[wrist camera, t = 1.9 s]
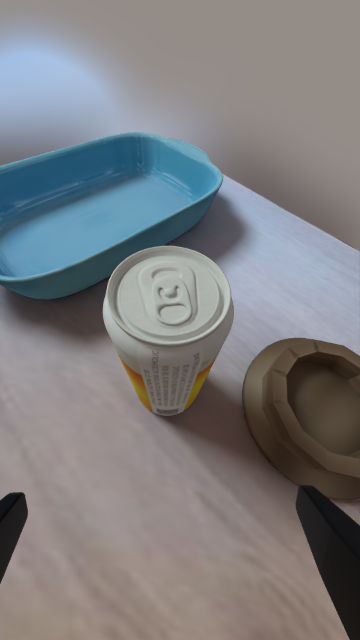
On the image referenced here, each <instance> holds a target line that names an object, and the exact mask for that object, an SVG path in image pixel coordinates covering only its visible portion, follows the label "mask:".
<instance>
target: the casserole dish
mask: <svg viewBox="0 0 360 640" xmlns="http://www.w3.org/2000/svg"><path fill="white" fill-rule="evenodd" d="M222 182H223V176H222V173H221V172H220V170H219V169H218V168H217V167H216V166H215V165H213V164H212V163H211V162H210V160H209V157H208V155H207V154H206V153H205V152H204V151H202V150H201V149H199V148H197V147H195V146H193V145H191V144H189V143H186V142H184V141H181V140H177V139H171V138H164V137H161V136H158V135H155V134H150V133H143V132H131V133H121V134H117V135H111V136H107V137H103V138H99V139H95V140H91V141H88V142H84V143H81V144H77V145H74V146H70V147H66V148H62V149H59V150H55V151H52V152H48V153H45V154H41V155H38V156H34V157H31V158H27V159H24V160H20V161H17V162H13V163H10V164H7V165H3V166H0V285H2V286H4V287H6V288H8V289H10V290H12V291H14V292H16V293H18V294H21V295H24V296H26V297H30V298H35V299H55V298H61V297H65V296H68V295H71V294H74V293H76V292H79V291H81V290H83V289H86V288H88V287H90V286H92V285H94V284H96V283H98V282H100V281H101V280H103V279H105V278H107V277H108V276H110V275H112V273H113V272H114V270H115V269H116V268H117V266H118V265H119V264H120V263H121V262H123V261H124V260H125V259H126V258H128V257H129V256H131V255H133V254H135V253H137V252H139V251H142V250H144V249H148V248H152V247H158V246H164V245H165V244H167V243H169V242H171V241H172V240H174V239H176V238H177V237H179V236H180V235H182V234H184V233H185V232H187V231H188V230H189V229H191V228H192V227H193V226H194V225H196V224H197V223H198V222H199V221H200V220H201V219H202V217H203V216H204V214H205V213H206V211H207V210H208V208H209V206H210V205H211V203H212V201H213V199H214V197H215V195H216V193H217V192H218V190H219V188H220V186H221V185H222Z"/></svg>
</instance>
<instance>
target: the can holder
mask: <svg viewBox="0 0 360 640" xmlns="http://www.w3.org/2000/svg"><path fill="white" fill-rule="evenodd" d="M242 401H243V409H244V414H245V418H246V421H247V424H248V427H249V429H250V432H251V434H252V436H253V438H254V440H255V442H256V444H257V445H258V447H259V448H260V450H261V451H262V453H263V454H264V455H265V457H266V458H267V459H268V460H269V462H270V463H271V464H272V465H273V466H274V467H275V468H276V469H277V470H278V471H279V472H281V473H282V474H283V475H284V476H285V477H287V478H288V479H289V480H291V481H292V482H294V483H295V484H297V485H299V486H300V485H312V486H314V487H315V488H316V489H318V490H319V491H320V492H321V493H322V494H323V495H325V496H327V497H332V498H338V499H357V498H360V356H359V355H357V354H356V353H354V352H353V351H351V350H350V349H348V348H347V347H345V346H343V345H338V344H333V343H328V342H323V341H319V340H314V339H306V338H289V339H284V340H280V341H277V342H275V343H273V344H271V345H269V346H267V347H266V348H265V349H264V350H262V351H261V352H260V353H259V354H258V356H257V357H256V358H255V359H254V360H253V361H252V363H251V364H250V366H249V368H248V370H247V372H246V375H245V379H244V382H243V390H242Z"/></svg>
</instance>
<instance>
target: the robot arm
mask: <svg viewBox="0 0 360 640" xmlns="http://www.w3.org/2000/svg"><path fill="white" fill-rule="evenodd" d="M296 510H297V513H298V516H299V519H300V521H301V524H302V527H303V530H304V532H305V535H306V538H307V540H308V543H309V546H310V549H311V551H312V554H313V557H314V560H315V562H316V565H317V567H318V570H319V573H320V575H321V577H322V580H323V582H324V584H325V586H326V589H327V591H328V593H329V595H330V597H331V600H332V602H333V604H334V606H335V609H336V611H337V613H338V615H339V617H340V620H341V622H342V624H343V626H344V628H345V631H346V633H347V635H348V637H349V639H350V640H360V525H359V524H357V523H356V522H355V521H354V520H353V519H352V518H350V517H349V516H348V515H347V514H346V513H345V512H343V511H342V510H341V509H340V508H339V507H337V506H336V505H335V504H334V503H333V502H332V501H330V500H329V499H328V498H327V497H326V496H325V495H323V494H322V493H321V492H320V491H319V490H318V489H316V488H315V487H314V486H312V485H300V486H299V489H298V494H297V499H296ZM27 515H28V509H27V503H26V498H25V494H24V493H23V492H13V493H9V494H8V495H6V496H5V497H4V498H3V499H1V500H0V583H1V581H2V578H3V576H4V574H5V571H6V569H7V566H8V564H9V561H10V559H11V557H12V554H13V552H14V549H15V547H16V544H17V542H18V539H19V537H20V534H21V532H22V530H23V527H24V525H25V522H26V519H27Z"/></svg>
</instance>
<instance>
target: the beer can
mask: <svg viewBox="0 0 360 640" xmlns="http://www.w3.org/2000/svg"><path fill="white" fill-rule="evenodd" d="M233 317H234V306H233V301H232V298H231V290H230V285H229V282H228V280H227V278H226V276H225V274H224V272H223V271H222V270H221V268H220V267H219V266H218V265H217V264H216V263H215V262H214V261H212V260H211V259H210V258H208V257H206V256H205V255H203V254H201V253H199V252H197V251H194V250H191V249H188V248H183V247H177V246H158V247H152V248H148V249H144V250H142V251H139V252H137V253H135V254H133V255H131V256H129V257H128V258H126V259H125V260H124V261H123V262H121V263H120V264H119V265H118V266H117V268H116V269H115V270H114V272H113V273H112V275H111V277H110V279H109V282H108V285H107V291H106V296H105V299H104V303H103V319H104V323H105V327H106V329H107V331H108V334H109V336H110V338H111V340H112V342H113V344H114V346H115V348H116V350H117V352H118V355H119V357H120V359H121V361H122V363H123V365H124V367H125V369H126V371H127V374H128V376H129V378H130V380H131V382H132V384H133V386H134V388H135V390H136V393H137V395H138V397H139V399H140V401H141V402H142V403H143V405H144V406H145V407H146V408H147V409H149V410H150V411H152V412H154V413H156V414H159V415H164V416H169V415H175V414H178V413H181V412H183V411H184V410H186V409H187V408H188V407H190V405H191V404H192V403H193V402H194V400H195V399H196V397H197V395H198V393H199V391H200V389H201V387H202V385H203V383H204V381H205V379H206V377H207V375H208V373H209V371H210V369H211V367H212V365H213V363H214V361H215V359H216V357H217V355H218V353H219V351H220V349H221V347H222V345H223V343H224V341H225V340H226V338H227V336H228V334H229V332H230V329H231V326H232V323H233Z"/></svg>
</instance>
